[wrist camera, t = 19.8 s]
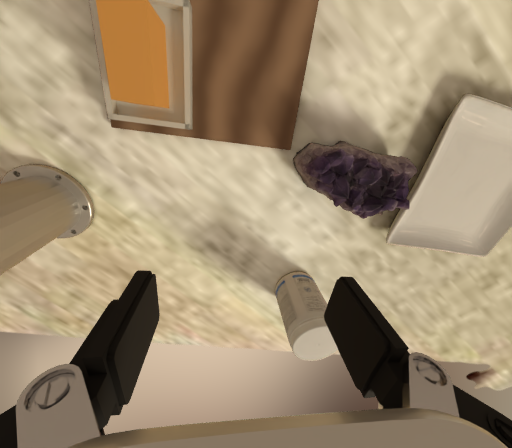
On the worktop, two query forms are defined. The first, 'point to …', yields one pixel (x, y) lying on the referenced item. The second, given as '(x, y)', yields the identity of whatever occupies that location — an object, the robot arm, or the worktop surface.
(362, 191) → the geode
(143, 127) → the board
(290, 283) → the supplement tub
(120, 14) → the orange block
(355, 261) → the worktop surface
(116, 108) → the tray
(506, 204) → the square plate
